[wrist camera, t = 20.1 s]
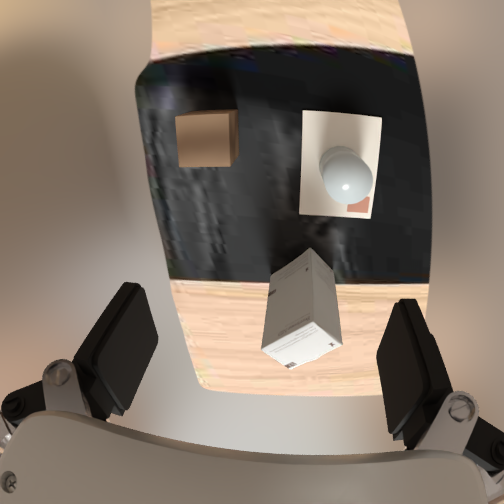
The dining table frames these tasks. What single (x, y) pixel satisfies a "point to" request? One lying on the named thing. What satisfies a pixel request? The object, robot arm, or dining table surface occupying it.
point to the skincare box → (301, 312)
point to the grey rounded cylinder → (345, 175)
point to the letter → (325, 137)
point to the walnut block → (207, 138)
